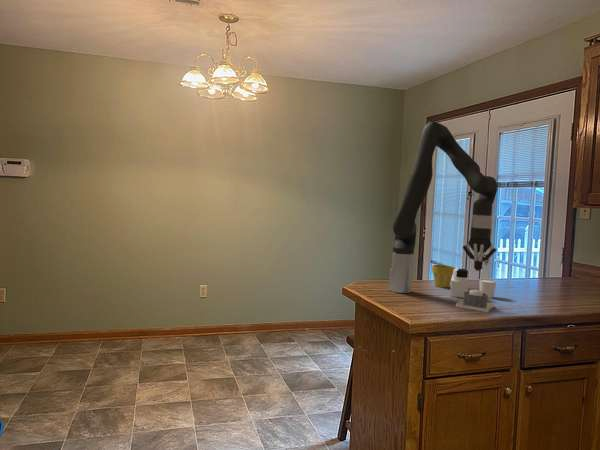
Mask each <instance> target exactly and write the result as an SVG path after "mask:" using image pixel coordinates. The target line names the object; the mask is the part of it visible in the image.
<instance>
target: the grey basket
mask: <svg viewBox="0 0 600 450" xmlns="http://www.w3.org/2000/svg"><path fill="white" fill-rule="evenodd" d="M488 299H489V298H488V295H487V294H485V293H483V296H476V295H470V294H469V290H468V291H467V292H464V298H462V299H461V300H459V301H457V302H456V303H455V307H456V308H461V309H465V310H472V311H477V312H482V313H484V312H485V313H489V312H490V311H491V310H492V309H493V308H494V307H495V303H492V302H488Z"/></svg>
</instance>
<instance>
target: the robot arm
mask: <svg viewBox="0 0 600 450" xmlns="http://www.w3.org/2000/svg"><path fill="white" fill-rule="evenodd" d="M436 147H437V148H439V150H441V151H442V152H444V153H445V154H446V155H447V157H448V158H449V159H450V162H451V163H452V164H453V166H454V168H455V169H456V170H457V171H458V172H459V173H460V174H461V175H462V177H464V179H465V181H466V182H467V184H468V186H469V188H470V189H471V190H472V191H473V192H474V193H477V194H479V195H478V199H476V200H474V202H473V206H472V215H471V216H472V217H471V222H470V234H469V235H470V236H469V240H468V243H467V244H465V245H463V246H462V249H463V250H464V251H465V254H466V255H467V256H468V258H469V259H470V260H473V261H474V262H473V269H474V270H475V271H477V272H480V271H481V270H482V269H483V262H484V261H488V259H490V257H491V258H492V256H493V255H494V253H496V251H497V250H498V249H497V248H496V247H494V246H493V245H492V244H493V243H492V242H491V241H492V240H491V236H492V224H493V223H492V221H493V219H492V215H493V214H492V213H493V204H494V201H495V199H496V198H495V197H496V196H497V192H498V181H497V180H496V178H494V177H493V176H491V175H490V176H488V175H485V174H483V173H482V172H481V167H480V166H479V164H478V163H477V162H476V161H475V160H474V158H472V157H471V156H470V155H469V153H467V152H466V151H465V149H463V148H462V147H461V145H460V144H459V143H458V141H457V140H456V139H455V137H454V136H453V134H452V132H450V130H449V128H448V127H447V126H446V125H444V124H441V123H439V122H437V121H429V122H428V123H426V124H425V126H424V128H423V129H422V132H421V136H420V140H419V144H418V150H417V153H416V157H415V159H414V162H413V167H412V169H411V171H410V175H409V178H408V181H407V184H406V188H405V191H404V195H403V199H402V202H401V207H400V208H399V211H398V213H397V215H396V218H395V220H394V222H393V224H392V231H393V234H394V243H393V246H392V258H391V268H390V269H389V274H388V275H389V276H388V291H390V292H393V293H399V294H410V293H411V292H412V285H413V270H414V253H415V249H416V248H415V246H416V239H417V223H416V219H417V215H418V211H419V210H420V207H421V205H422V203H423V201H424V200H425V198H426V196H427V193H428V191H429V189H430V186H431V183H432V180H433V173H434V171H433V169H434V168H433V156H434V153H435V150H436ZM470 249H471V250H470ZM488 250H489V252H488V254H486V255H485V253H486V252H487V251H488ZM472 252H473V253H472Z"/></svg>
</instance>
